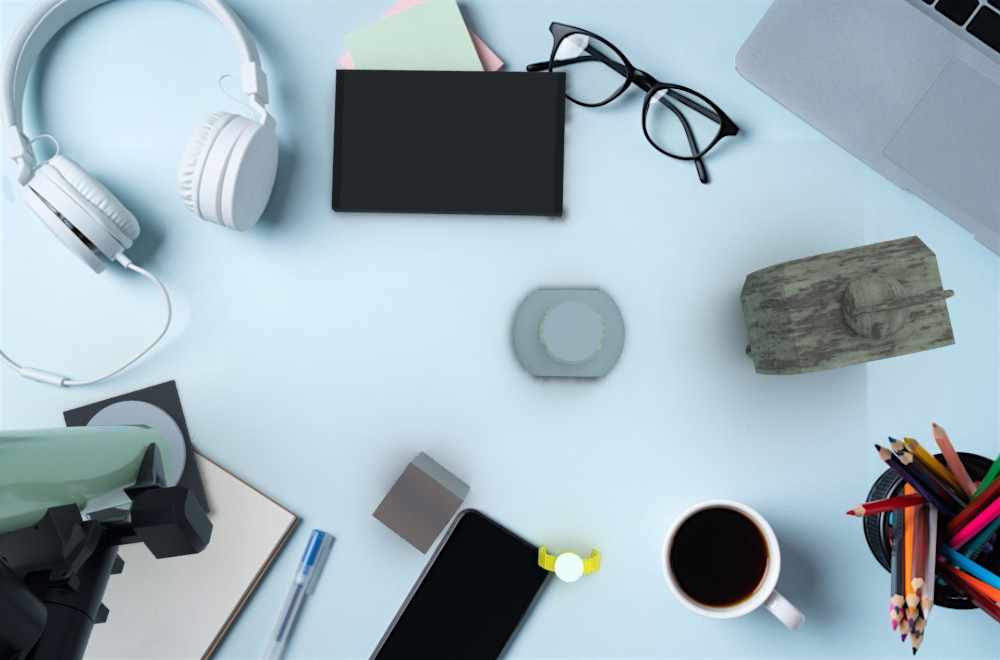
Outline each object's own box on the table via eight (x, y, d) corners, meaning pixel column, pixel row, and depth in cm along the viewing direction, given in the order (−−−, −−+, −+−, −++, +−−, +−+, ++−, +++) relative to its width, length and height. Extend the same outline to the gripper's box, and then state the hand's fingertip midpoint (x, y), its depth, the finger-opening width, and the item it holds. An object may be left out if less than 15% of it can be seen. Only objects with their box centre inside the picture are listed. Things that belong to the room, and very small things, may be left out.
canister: (187, 463, 70) (-25, 498, 45) (131, 518, 70) (-114, 585, 44) (137, 407, 71) (-100, 410, 45) (82, 461, 71) (-188, 495, 45)
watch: (598, 539, 79) (603, 555, 73) (596, 567, 79) (602, 584, 73) (539, 535, 79) (539, 550, 73) (537, 563, 79) (537, 580, 73)
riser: (436, 532, 80) (424, 554, 71) (389, 497, 80) (371, 515, 71) (471, 484, 80) (463, 501, 71) (424, 449, 80) (410, 461, 71)
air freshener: (621, 294, 80) (634, 285, 70) (620, 375, 79) (633, 378, 69) (514, 293, 80) (512, 284, 70) (513, 374, 80) (510, 376, 70)
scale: (215, 509, 81) (206, 514, 78) (105, 541, 81) (93, 546, 79) (180, 379, 81) (170, 379, 79) (71, 410, 82) (58, 412, 79)
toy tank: (733, 372, 79) (826, 379, 54) (715, 284, 79) (799, 251, 54) (876, 344, 78) (1036, 338, 54) (857, 256, 79) (1007, 210, 54)
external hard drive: (343, 78, 82) (336, 68, 79) (565, 81, 81) (566, 71, 78) (338, 214, 81) (331, 208, 78) (562, 218, 80) (563, 213, 77)
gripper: (126, 542, 50) (182, 371, 62) (-151, 580, 51) (-45, 404, 63) (193, 624, 58) (232, 458, 70) (-49, 656, 59) (29, 486, 70)
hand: (114, 451), depth 68 cm, fingers closed on canister, 7 cm apart
